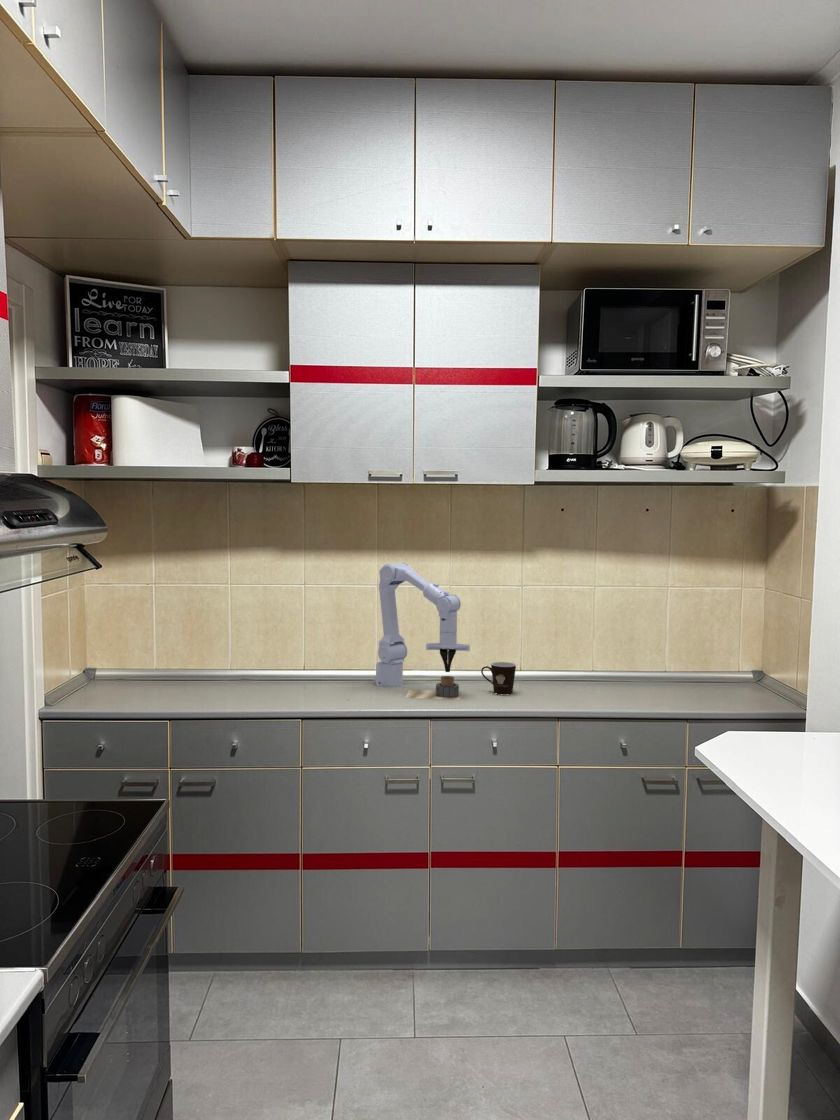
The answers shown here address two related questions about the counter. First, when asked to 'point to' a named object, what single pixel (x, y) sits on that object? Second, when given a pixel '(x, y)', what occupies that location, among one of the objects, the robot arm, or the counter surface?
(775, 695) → the counter surface
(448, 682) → the plug
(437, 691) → the sleeve
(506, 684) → the coffee mug
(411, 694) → the board
